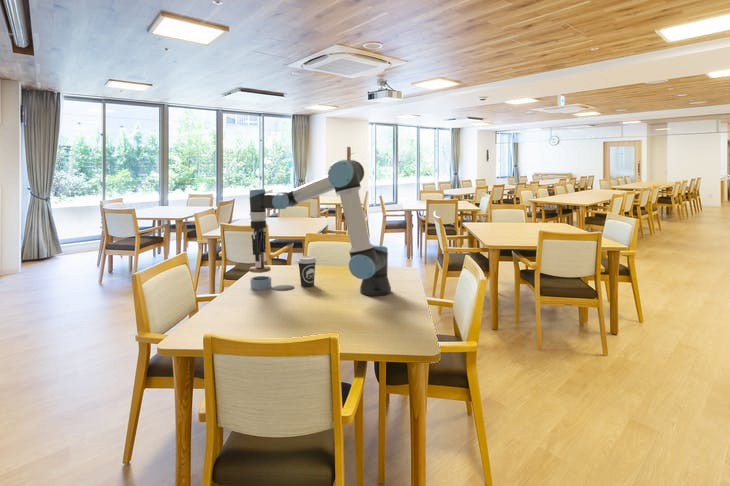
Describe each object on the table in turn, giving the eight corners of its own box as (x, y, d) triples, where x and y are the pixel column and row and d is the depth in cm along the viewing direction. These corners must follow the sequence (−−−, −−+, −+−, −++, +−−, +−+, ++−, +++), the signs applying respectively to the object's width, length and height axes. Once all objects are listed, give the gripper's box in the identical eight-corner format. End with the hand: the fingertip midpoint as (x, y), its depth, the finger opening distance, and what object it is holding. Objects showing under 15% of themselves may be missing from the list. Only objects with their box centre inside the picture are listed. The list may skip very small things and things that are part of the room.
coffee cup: (318, 284, 245) (318, 255, 243) (314, 288, 236) (314, 259, 233) (300, 283, 246) (299, 255, 244) (296, 288, 237) (295, 259, 234)
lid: (274, 270, 237) (274, 252, 235) (258, 273, 229) (257, 255, 227) (261, 267, 243) (261, 249, 242) (245, 270, 235) (244, 252, 234)
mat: (299, 288, 237) (299, 287, 237) (282, 293, 228) (282, 292, 228) (284, 284, 244) (284, 283, 244) (267, 289, 235) (267, 288, 235)
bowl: (275, 287, 238) (274, 277, 238) (259, 291, 231) (259, 281, 230) (262, 284, 245) (262, 275, 244) (246, 288, 237) (246, 278, 236)
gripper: (257, 218, 241) (259, 262, 245) (244, 222, 224) (246, 270, 228) (271, 218, 240) (273, 263, 244) (259, 222, 223) (260, 270, 227)
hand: (260, 266), depth 236 cm, fingers closed on lid, 4 cm apart
